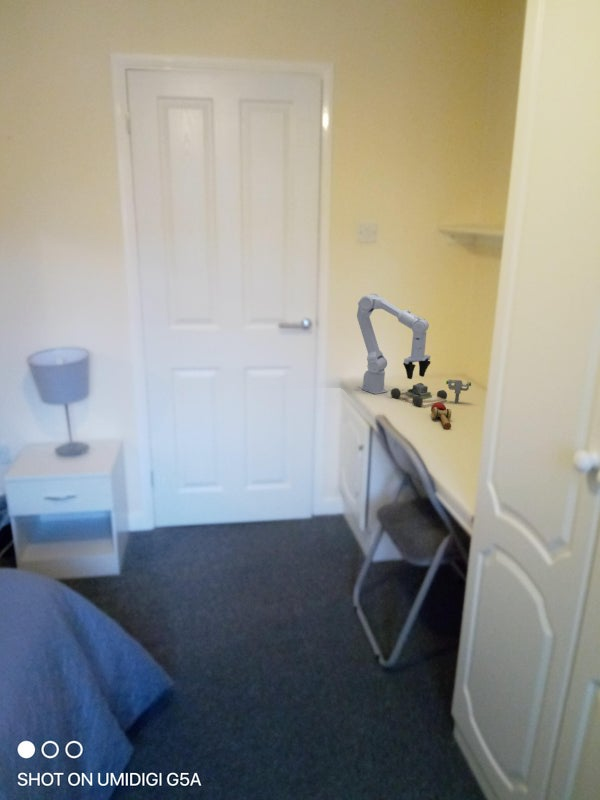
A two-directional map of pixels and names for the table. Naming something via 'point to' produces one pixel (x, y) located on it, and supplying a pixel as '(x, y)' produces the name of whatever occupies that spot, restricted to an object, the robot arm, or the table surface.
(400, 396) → the chassis
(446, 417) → the kendama
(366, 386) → the robot arm
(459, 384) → the mechanical component
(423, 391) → the block
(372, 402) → the table surface
